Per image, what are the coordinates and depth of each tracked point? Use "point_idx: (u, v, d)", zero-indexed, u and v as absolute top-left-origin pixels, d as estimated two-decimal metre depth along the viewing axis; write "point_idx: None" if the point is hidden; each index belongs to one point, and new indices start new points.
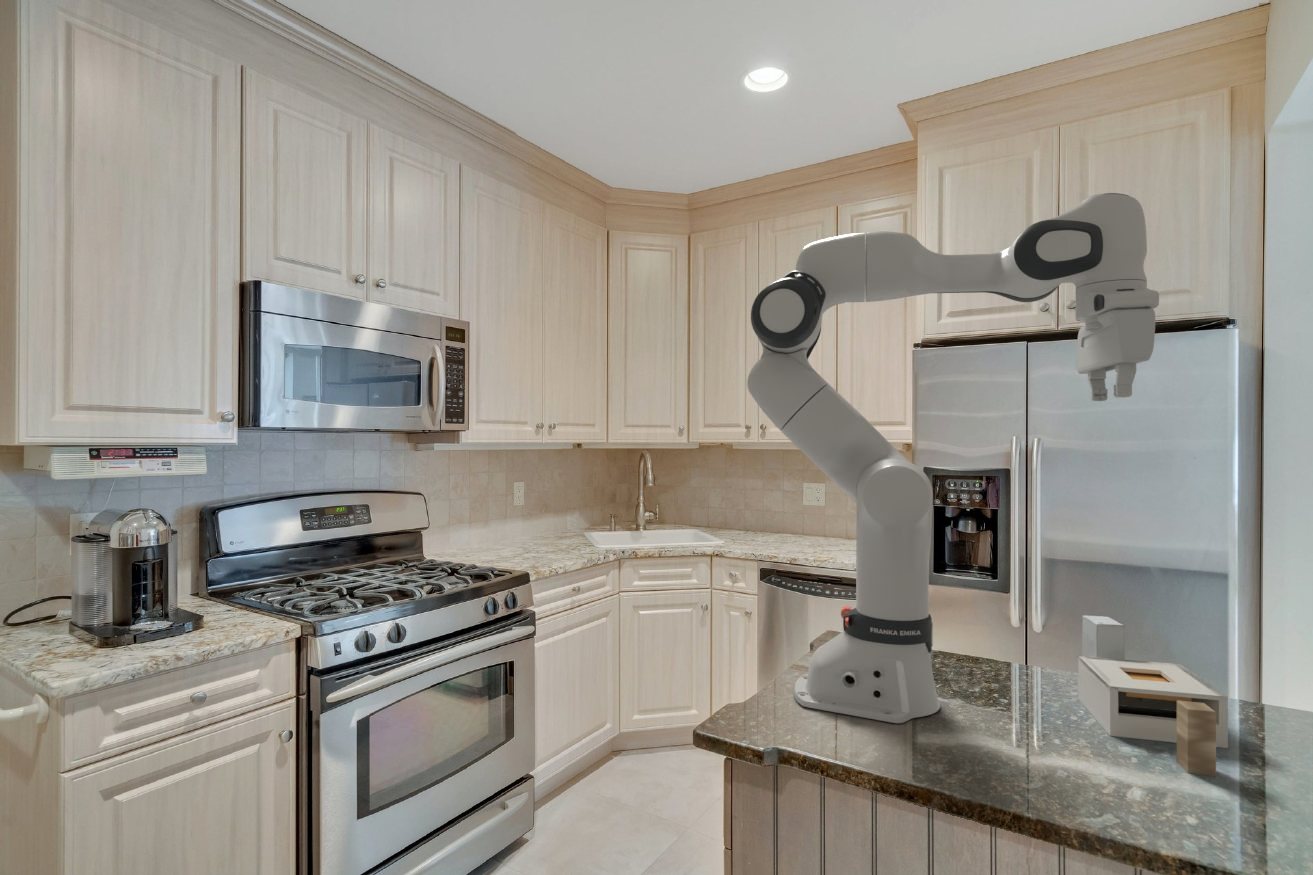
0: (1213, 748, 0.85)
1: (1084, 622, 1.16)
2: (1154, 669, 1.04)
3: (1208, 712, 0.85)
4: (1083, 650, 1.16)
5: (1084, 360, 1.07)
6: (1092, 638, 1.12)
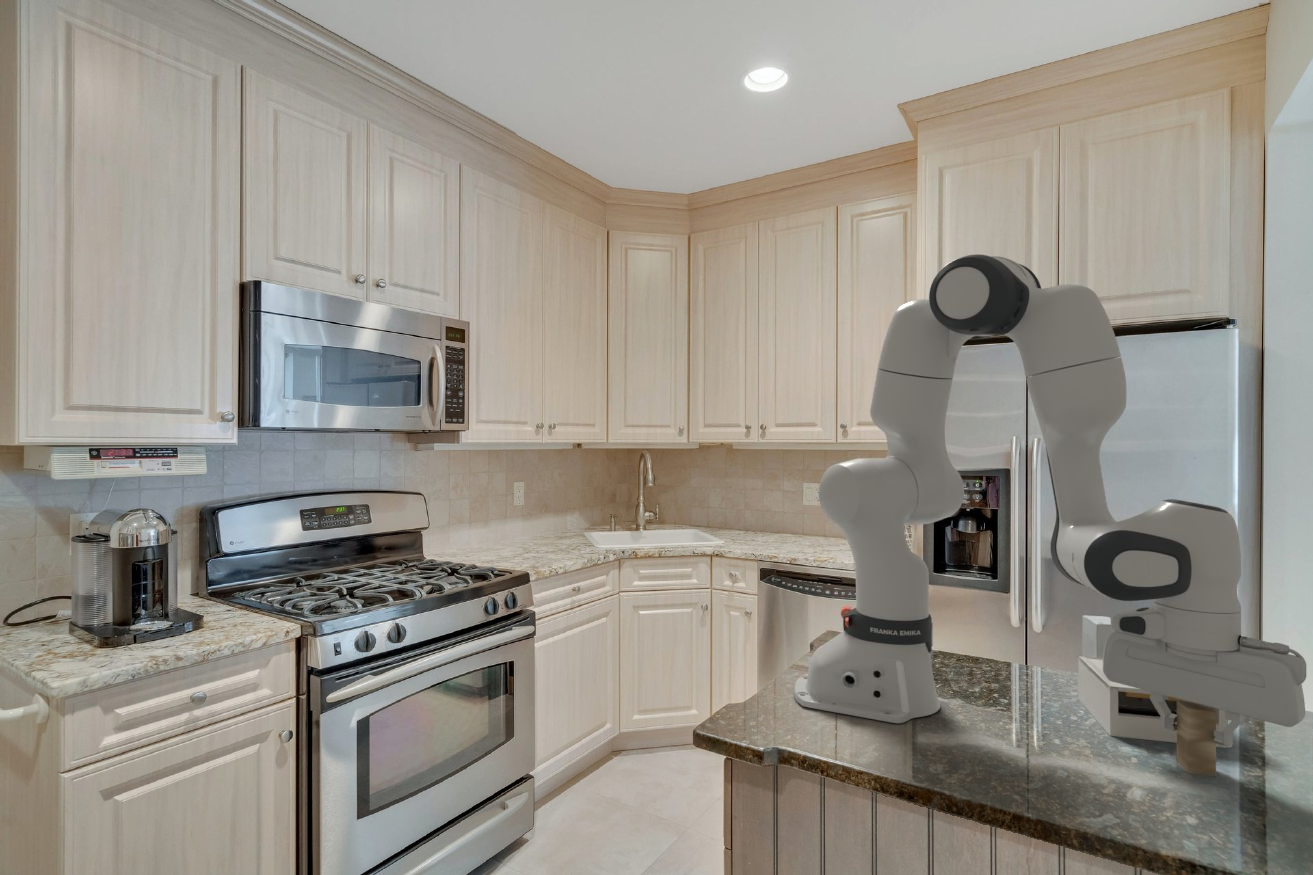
0: (1213, 748, 0.85)
1: (1084, 622, 1.16)
2: None
3: (1208, 712, 0.85)
4: (1083, 650, 1.16)
5: None
6: (1092, 638, 1.12)
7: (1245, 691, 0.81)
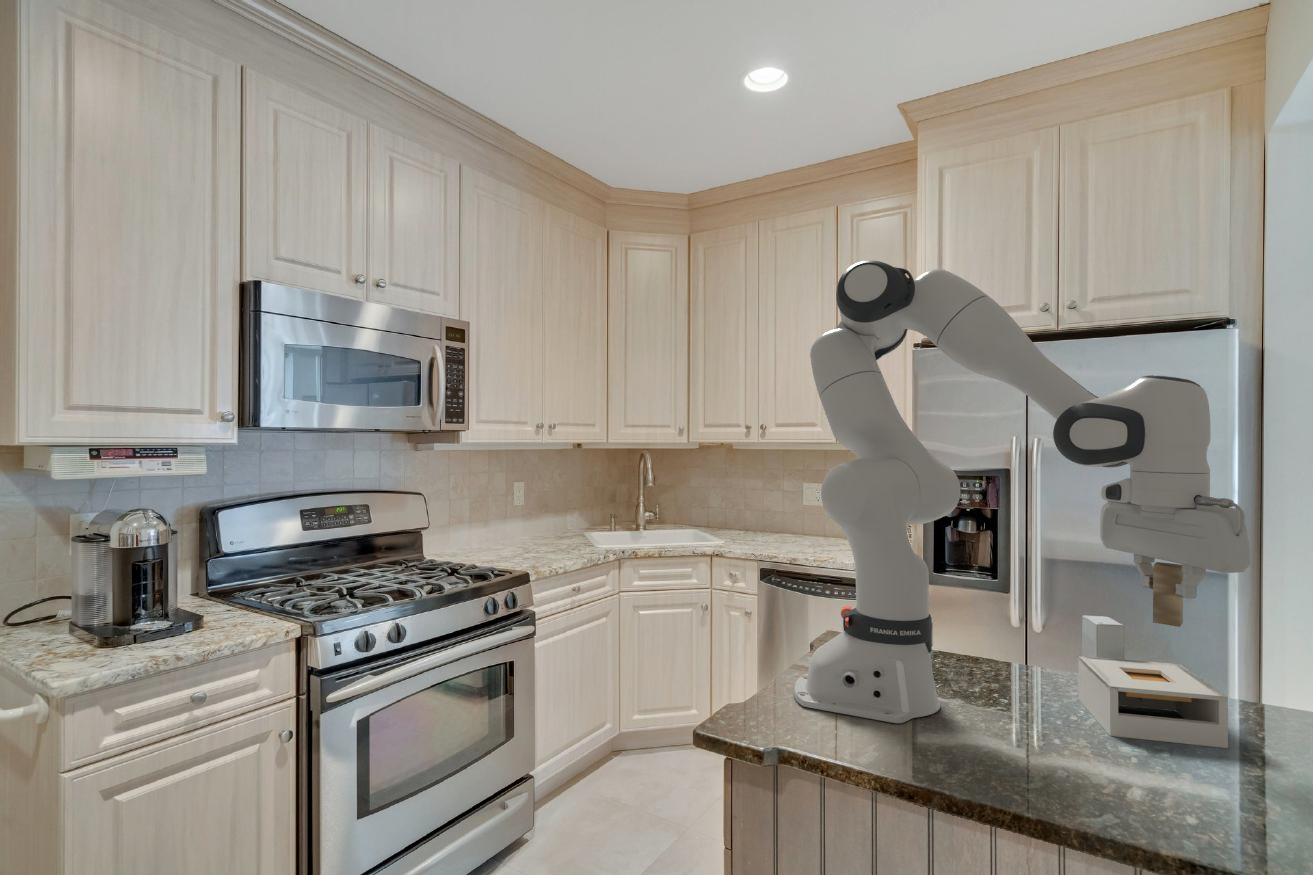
0: (1178, 601, 0.92)
1: (1084, 622, 1.16)
2: (1154, 669, 1.04)
3: (1173, 568, 0.92)
4: (1083, 650, 1.16)
5: None
6: (1092, 638, 1.12)
7: (1192, 543, 0.89)
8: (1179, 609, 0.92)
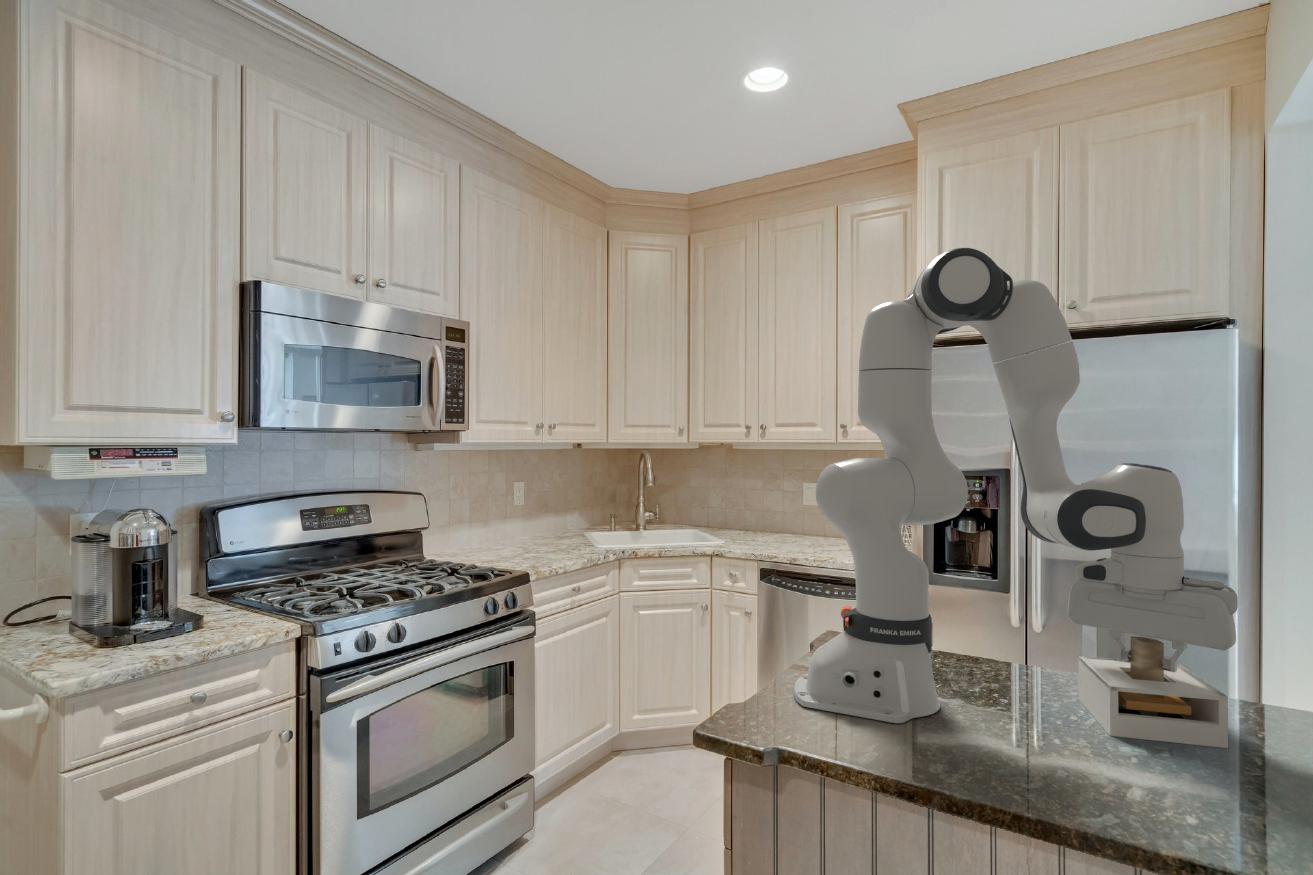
0: (1161, 674, 0.99)
1: None
2: None
3: (1157, 643, 1.00)
4: (1083, 650, 1.16)
5: None
6: (1092, 638, 1.12)
7: (1188, 623, 0.96)
8: (1162, 681, 1.00)
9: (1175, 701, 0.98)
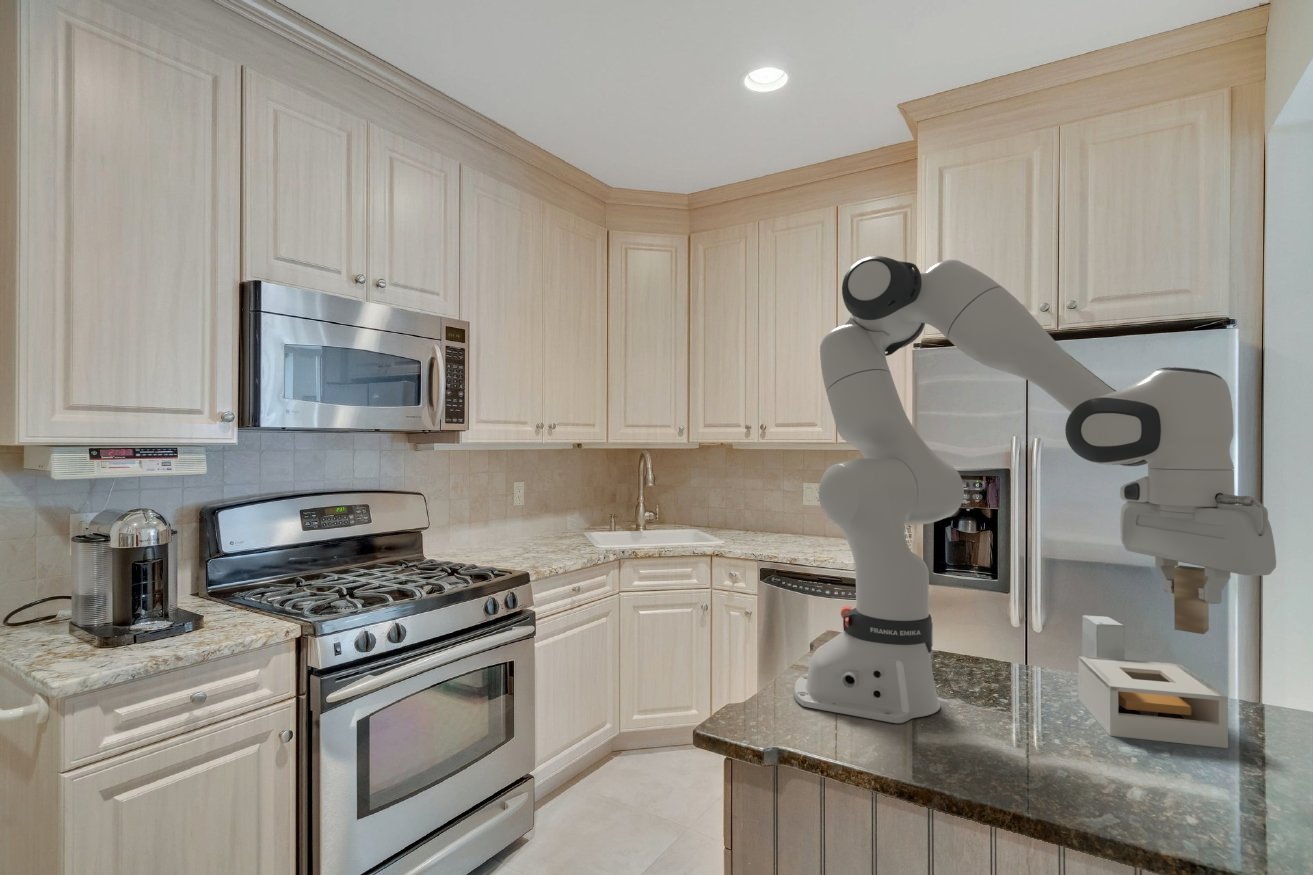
0: (1201, 607, 0.87)
1: (1084, 622, 1.16)
2: (1154, 669, 1.04)
3: (1195, 571, 0.87)
4: (1083, 650, 1.16)
5: None
6: (1092, 638, 1.12)
7: (1213, 544, 0.83)
8: (1202, 615, 0.86)
9: (1175, 702, 0.98)
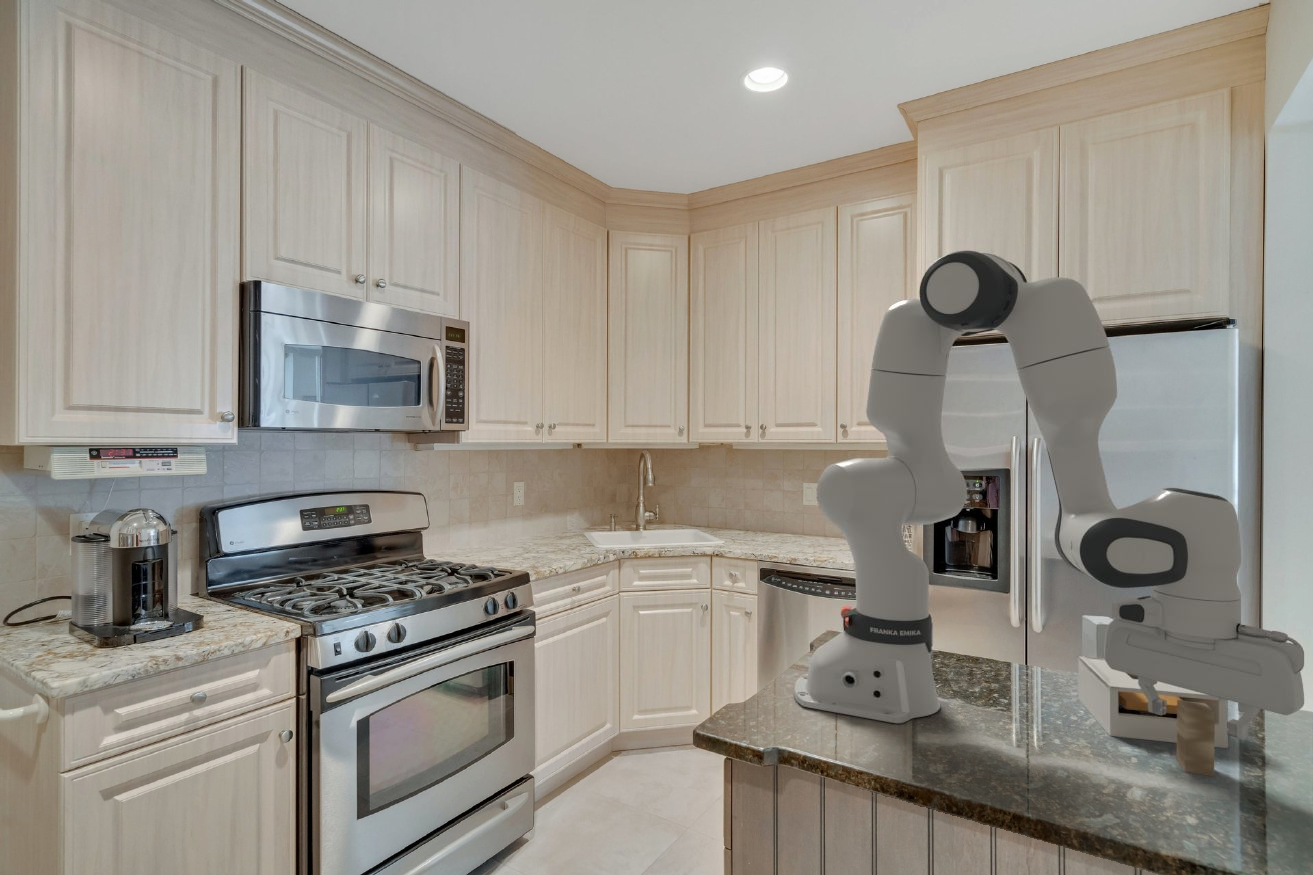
0: (1211, 748, 0.85)
1: (1084, 622, 1.16)
2: None
3: (1207, 712, 0.85)
4: (1083, 650, 1.16)
5: None
6: (1092, 638, 1.12)
7: (1242, 679, 0.81)
8: (1213, 757, 0.85)
9: (1175, 702, 0.98)
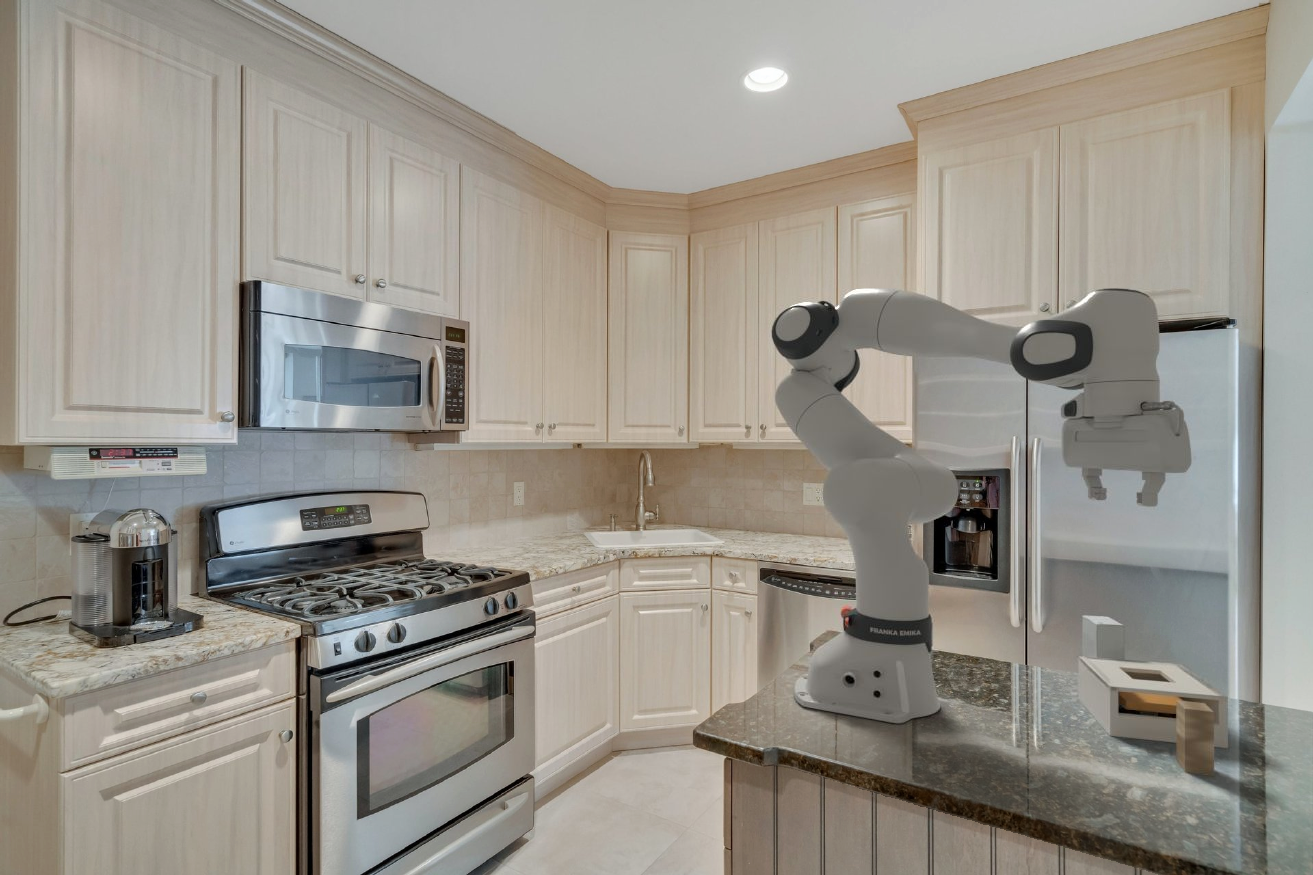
0: (1211, 748, 0.85)
1: (1084, 622, 1.16)
2: (1154, 669, 1.04)
3: (1206, 712, 0.85)
4: (1083, 650, 1.16)
5: None
6: (1092, 638, 1.12)
7: (1137, 448, 0.90)
8: (1212, 756, 0.85)
9: (1175, 702, 0.98)
